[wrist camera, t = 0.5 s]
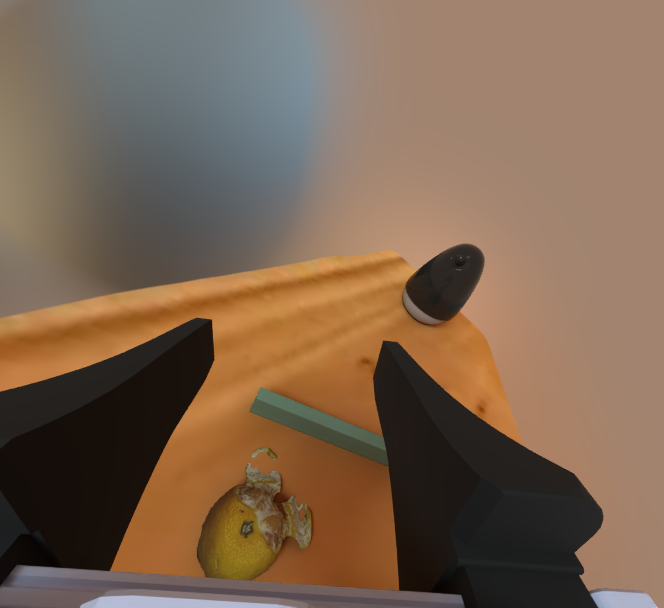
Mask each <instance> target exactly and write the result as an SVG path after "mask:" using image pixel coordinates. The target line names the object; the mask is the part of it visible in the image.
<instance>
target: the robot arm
mask: <svg viewBox="0 0 664 608" xmlns="http://www.w3.org/2000/svg"><path fill="white" fill-rule="evenodd" d="M213 362H214V345H213V330H212V320H211V319H203V318H195V319H193V320H190V321H188V322H186V323H184V324H182V325H180V326H178V327H176V328H174V329H172V330H170V331H168V332H166V333H164V334H162V335H160V336H158V337H156V338H154V339H152V340H150V341H148V342H146V343H143V344H141V345H139V346H137V347H135V348H132V349H130V350H128V351H126V352H124V353H121V354H119V355H116V356H114V357H111V358H109V359H106V360H104V361H101V362H98V363H96V364H93V365H90V366H87V367H85V368H82V369H79V370H75V371H72V372H69V373H66V374H63V375H59V376H56V377H53V378H50V379H47V380H43V381H40V382H36V383H32V384H29V385H25V386H21V387H17V388H13V389H9V390H5V391H1V392H0V608H657V606H656V605H655V603H654V602H653V601H652V599H651V598H650V596H649V595H648V594H647V593H645V592H643V591H634V590H621V589H607V588H604V589H595V590H591V591H588V590H587V588H586V586H585V585H584V583H583V582H582V580H581V578H580V576H579V575H582V574H583V573H584V568H583V566H582V565H581V563H580V561H579V560H578V559H577V557H576V555H575V552H576V551H577V550H578V549H579V548H580V547H581V546H582V545H583V544H585V543H586V542H587V541H588V540H589V539H590V538H591V537H592V536H594V534H595V533H596V532H597V531H598V530H599V529H600V527H601V524H602V522H603V512H602V509H601V508H600V506H599V505H598V504H597V503H596V501H595V500H594V499H593V497H592V496H591V495H590V494H589V492H588V491H587V490H586V488H585V487H584V486H583V485H582V483H581V482H580V481H579V479H578V478H577V477H576V476H575V474H573V473H572V472H570V471H568V470H566V469H564V468H562V467H560V466H558V465H557V464H555V463H553V462H551V461H549V460H547V459H545V458H543V457H542V456H539V455H538V454H536V453H534V452H532V451H530V450H529V449H527V448H526V447H524V446H522V445H520V444H519V443H517V442H515V441H514V440H512V439H510V438H509V437H507V436H506V435H504V434H503V433H501V432H499V431H498V430H496V429H495V428H493V427H492V426H490V425H489V424H488V423H486V422H485V421H483V420H482V419H480V418H479V417H477V416H476V415H475V414H473V413H472V412H471V411H469V410H468V409H467V408H466V407H464V406H463V405H462V404H461V403H459V402H458V401H457V400H456V399H454V398H453V397H452V396H451V395H450V394H448V393H447V392H446V391H445V390H444V389H443V388H442V387H441V386H440V385H439V384H437V383H436V382H435V381H434V380H433V379H432V378H431V377H430V376H429V375H428V374H427V373H426V372H425V371H424V370H423V369H422V368H421V367H420V366H419V365H418V364H417V363H416V361H415V360H414V359H413V358H412V357H411V356H410V355H409V354H408V353H407V352H406V351H405V350H404V349H403V347H402V346H401V345H400V344H399V343H398V342H391V341H383V343H382V347H381V351H380V354H379V358H378V362H377V366H376V369H375V373H374V377H373V381H374V393H375V401H376V406H377V411H378V415H379V420H380V424H381V429H382V433H383V438H384V442H385V447H386V452H387V458H388V465H389V473H390V482H391V491H392V500H393V510H394V521H395V534H396V546H397V560H398V576H399V591H396V590H382V589H367V588H352V587H337V586H322V585H307V584H292V583H278V582H263V581H248V580H233V579H218V578H203V577H189V576H174V575H159V574H144V573H129V572H114V571H110V569H111V567H112V564H113V562H114V559H115V557H116V554H117V552H118V550H119V547H120V545H121V542H122V540H123V537H124V535H125V533H126V530H127V528H128V526H129V523H130V521H131V519H132V517H133V514H134V512H135V510H136V507H137V505H138V503H139V501H140V498H141V496H142V494H143V492H144V490H145V487H146V485H147V483H148V481H149V479H150V477H151V475H152V473H153V470H154V468H155V466H156V464H157V462H158V460H159V458H160V456H161V454H162V452H163V450H164V448H165V446H166V444H167V442H168V440H169V438H170V436H171V435H172V433H173V431H174V429H175V428H176V426H177V425H178V423H179V421H180V420H181V418H182V417H183V415H184V413H185V412H186V410H187V409H188V407H189V406H190V404H191V402H192V401H193V399H194V398H195V396H196V394H197V393H198V391H199V390H200V388H201V386H202V385H203V383H204V381H205V379H206V377H207V375H208V373H209V371H210V368H211V366H212V364H213Z"/></svg>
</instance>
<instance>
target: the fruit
mask: <svg viewBox="0 0 664 608" xmlns="http://www.w3.org/2000/svg"><path fill="white" fill-rule="evenodd" d="M261 452H266V453H267V454H268V455H269V457H270V458H272V459H273V460H274V461H275V460H276V458H277V456H276V455H275V454H274V453H273V452H272V451H271V449H270V448H268V449H267V448H258V449H256V450H255V451H254V452H253V453H252V455H251V457H252V458H254V457H256V456H257V454H258V453H261ZM250 466H251V465H250V462H249V463H248V465H247V467H246V475H247V481H246V484H245V486H243V485H237V486H235V487H233V488H232V489H230V490H229V491H228V492H226V493H225V494H224V495H223V496H222V497H221V498H220V499H219V500H218V501H217V502H216V503H215V504H214V506H213V507H212V508H211V509H210V511H209V513H208V515H207V517H206V520H205V522H204V523H203V525H202V532H201V537H200V539H199V543H198V547H197V558H198V561H199V563H200V564H201V567H202V569H203V570H204V572H205V577H206V578H218V579H233V580H248V581H251V580H252V579H255V578H256V577H258V576H260V575H261V574H263V573H264V572H266V571H267V570H268V568H269V567H270V566H271V565H272V564H273V562H274V561H275V559H276V558H277V555H278V553H279V551H280V549H281V545H282V540H284V539H285V538H286V537H293V538H295V539H296V540H297V541H298V543H299V547H300V549H301V550H303V549H305V548H307V547H308V546H309V544H310V541H311V527H312V519H311V512H310V508H309V507H308V506H307V505H306V504H303V503H301V504H300V505H299V506H298V505H297V498H296V497H294V495H292V496H291V498H290V499H289V500H288V501H287V502H281V503H275V501H274V496H275V494H276V493H278V492H280V488H281V487H280V486H281V479H280V477H281V476H280V474H279V472H278V471H274V470H273V471H272V472H271V473H259V471H258V468H257V467H256V468H255V469H253V468H251V467H250ZM303 506H305V513H306V514H305V517H304V519H303V521H302V522H301V520H300V518H299V511H301V509H302V508H303Z"/></svg>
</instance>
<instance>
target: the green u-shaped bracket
mask: <svg viewBox="0 0 664 608" xmlns="http://www.w3.org/2000/svg"><path fill="white" fill-rule="evenodd" d="M249 412H252V413H254V414H257V415H259V416H262V417H264V418H267V419H269V420H272V421H275V422H277V423H280V424H282V425H285V426H287V427H290V428H292V429H295V430H297V431H300V432H302V433H305V434H308V435H310V436H313V437H315V438H318V439H320V440H323V441H325V442H328V443H330V444H333V445H335V446H338V447H340V448H343V449H346V450H348V451H351V452H353V453H356V454H358V455H361V456H363V457H366V458H368V459H371V460H373V461H376V462H379V463H381V464H384V465H386V466H389V465H388V458H387V452H386V447H385V442H384V438H383V437H381V436H379V435H377V434H374V433H372V432H369V431H367V430H364V429H362V428H359V427H357V426H355V425H352V424H350V423H347V422H345V421H342V420H340V419H337V418H335V417H332V416H330V415H328V414H325V413H323V412H320V411H318V410H315V409H313V408H310V407H308V406H306V405H303V404H301V403H298V402H296V401H293V400H291V399H288V398H286V397H284V396H281V395H279V394H276V393H274V392H271V391H269V390H266V389H264V388H262V387H261V388H260V390H259V392H258V394H257V396H256V398H255V400H254V402H253V405H252V407H251V409H250V411H249Z"/></svg>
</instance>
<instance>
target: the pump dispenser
mask: <svg viewBox="0 0 664 608" xmlns="http://www.w3.org/2000/svg"><path fill="white" fill-rule="evenodd" d="M484 262H485V258H484V255H483V253H482V251H481V250H480V249H479V248H478V247H476V246H474V245H472V244H460V245H456V246H454V247H451V248H449V249H447V250H445V251H443V252H442V253H440V254H439V255H437V256H436V257H434V258H433V259H431V260H430V261H428V262H427V263H426V264H425V265H423V266H422V267H421V268H420V269H418V270H417V271H416V272H415V273H414V274H413V275H412V276H411V277H410V278H409V279H408V281H407V282H406V285H405V289H404V292H403V302H404V305H405V308H406V309H407V311H408V312H409V313H410V315H411V316H413V317H414V318H415V319H416V320H418V321H420V322H422V323H425V324H431V325H433V324H440V323H443V322H445V321H448V320H451V319H452V318H453V317H455V316H456V314H457V313H458V312H459V311H460V309H461V308H462V307H463V306H464V304H465V303H466V302H467V300H468V299H469V297H470V296H471V294H472V292H473V291H474V289H475V287H476V285H477V284H478V282H479V280H480V277H481V275H482V272H483V268H484Z"/></svg>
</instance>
